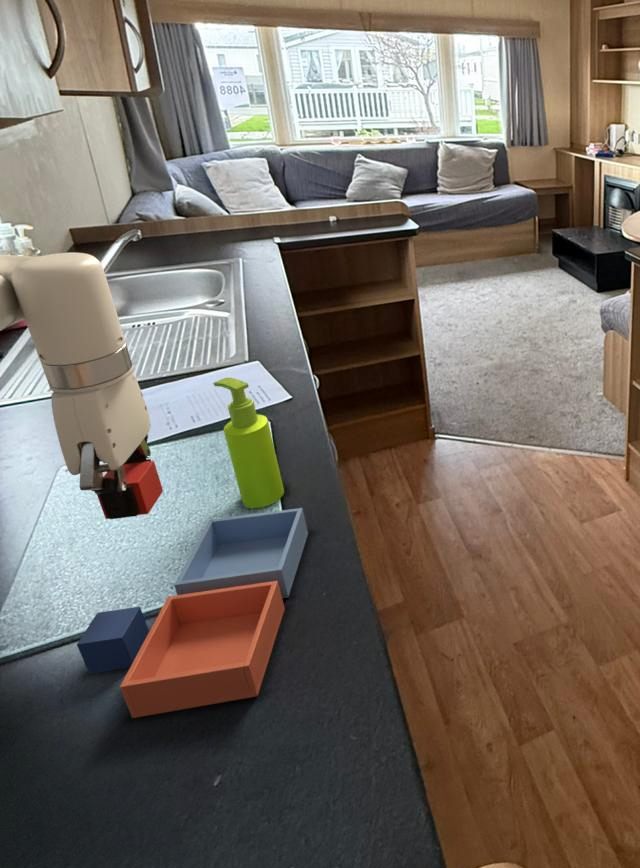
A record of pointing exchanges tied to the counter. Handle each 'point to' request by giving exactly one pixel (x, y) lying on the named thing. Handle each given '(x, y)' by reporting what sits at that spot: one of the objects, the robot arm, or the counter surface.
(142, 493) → the red block
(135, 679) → the red bin
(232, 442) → the soap dispenser
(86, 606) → the counter surface
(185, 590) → the blue bin
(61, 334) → the robot arm
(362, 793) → the counter surface
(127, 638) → the blue block
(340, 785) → the counter surface
